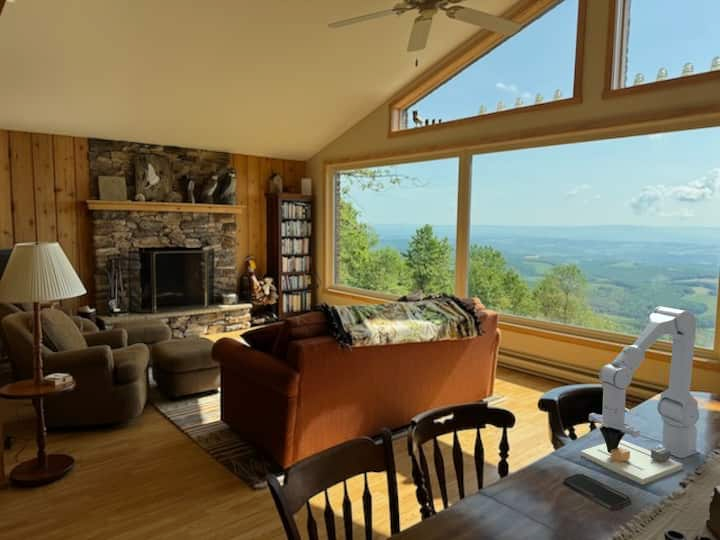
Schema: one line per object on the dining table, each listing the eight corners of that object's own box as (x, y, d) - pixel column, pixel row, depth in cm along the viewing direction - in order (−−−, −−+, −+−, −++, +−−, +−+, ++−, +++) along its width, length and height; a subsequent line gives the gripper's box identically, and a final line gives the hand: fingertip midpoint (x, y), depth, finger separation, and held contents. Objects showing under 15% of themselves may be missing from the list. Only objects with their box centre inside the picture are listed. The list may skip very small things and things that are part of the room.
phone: (580, 472, 136) (633, 498, 122) (580, 476, 136) (632, 503, 123) (560, 479, 132) (612, 507, 119) (560, 483, 132) (612, 511, 119)
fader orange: (619, 454, 144) (620, 446, 144) (629, 459, 141) (630, 450, 141) (610, 457, 142) (611, 449, 142) (620, 462, 139) (621, 453, 139)
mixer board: (619, 443, 156) (619, 438, 156) (682, 469, 139) (682, 463, 139) (580, 455, 147) (580, 450, 147) (642, 484, 131) (642, 479, 131)
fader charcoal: (659, 454, 144) (659, 446, 144) (669, 459, 141) (670, 450, 141) (650, 457, 142) (651, 449, 142) (661, 462, 139) (661, 453, 139)
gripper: (582, 401, 147) (581, 445, 148) (628, 417, 134) (626, 466, 136) (598, 397, 151) (596, 440, 152) (644, 413, 138) (642, 460, 139)
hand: (611, 452), depth 144 cm, fingers closed
